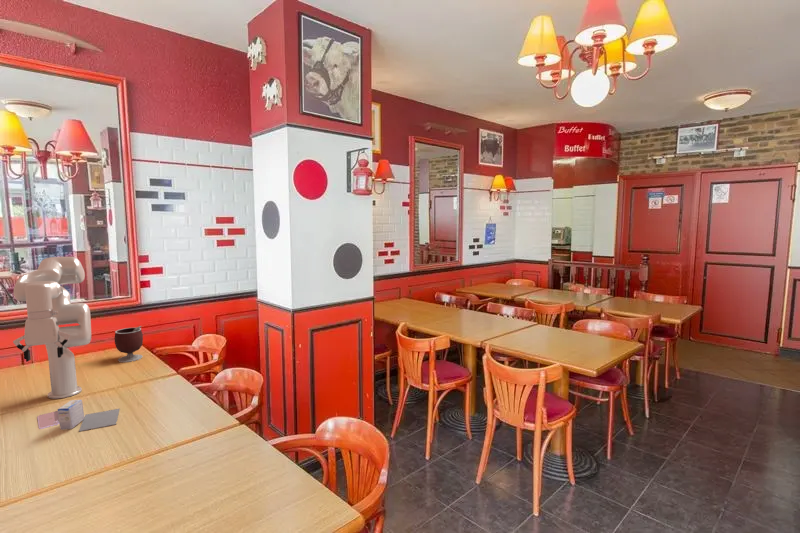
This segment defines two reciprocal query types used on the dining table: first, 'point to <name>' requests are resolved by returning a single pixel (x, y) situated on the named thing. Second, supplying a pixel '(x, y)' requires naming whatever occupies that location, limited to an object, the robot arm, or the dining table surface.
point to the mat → (99, 420)
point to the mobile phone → (48, 420)
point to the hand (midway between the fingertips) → (44, 358)
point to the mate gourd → (129, 343)
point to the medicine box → (71, 414)
